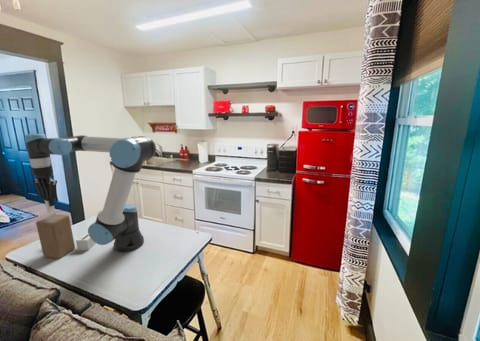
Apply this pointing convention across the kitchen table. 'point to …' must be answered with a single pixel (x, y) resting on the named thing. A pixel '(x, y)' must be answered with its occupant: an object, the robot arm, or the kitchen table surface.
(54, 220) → the wooden block
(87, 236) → the grey marked cube
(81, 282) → the kitchen table surface
